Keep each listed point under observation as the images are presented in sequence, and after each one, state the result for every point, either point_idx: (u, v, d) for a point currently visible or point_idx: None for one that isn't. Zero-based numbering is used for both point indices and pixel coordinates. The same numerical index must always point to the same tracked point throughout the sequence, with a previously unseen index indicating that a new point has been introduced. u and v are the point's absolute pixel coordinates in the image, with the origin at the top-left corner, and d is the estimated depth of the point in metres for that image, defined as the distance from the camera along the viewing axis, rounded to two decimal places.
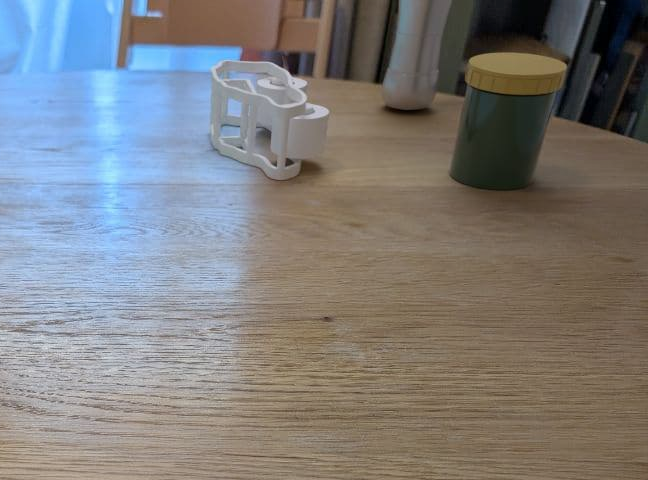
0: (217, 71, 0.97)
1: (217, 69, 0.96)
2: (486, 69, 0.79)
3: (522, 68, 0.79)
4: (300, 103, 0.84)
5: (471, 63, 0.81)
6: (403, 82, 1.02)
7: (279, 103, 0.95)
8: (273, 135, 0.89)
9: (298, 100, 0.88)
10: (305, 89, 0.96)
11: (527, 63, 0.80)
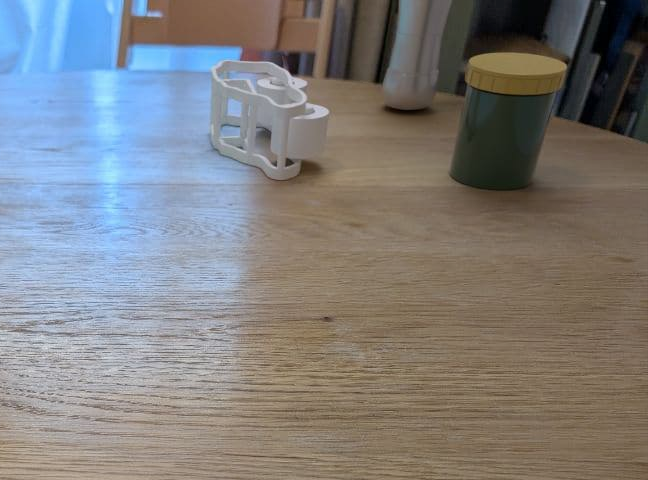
0: (217, 71, 0.97)
1: (217, 69, 0.96)
2: (486, 69, 0.79)
3: (522, 68, 0.79)
4: (300, 103, 0.84)
5: (471, 63, 0.81)
6: (403, 82, 1.02)
7: (279, 103, 0.95)
8: (273, 135, 0.89)
9: (298, 100, 0.88)
10: (305, 89, 0.96)
11: (527, 63, 0.80)
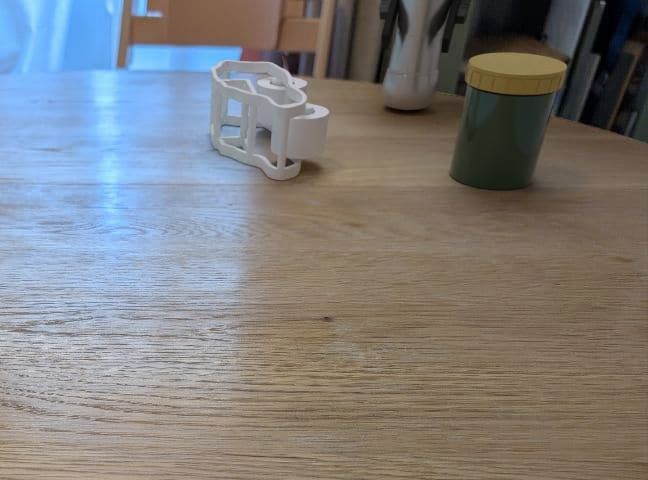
0: (217, 71, 0.97)
1: (217, 69, 0.96)
2: (486, 69, 0.79)
3: (522, 68, 0.79)
4: (300, 103, 0.84)
5: (471, 63, 0.81)
6: (403, 82, 1.02)
7: (279, 103, 0.95)
8: (273, 135, 0.89)
9: (298, 100, 0.88)
10: (305, 89, 0.96)
11: (527, 63, 0.80)
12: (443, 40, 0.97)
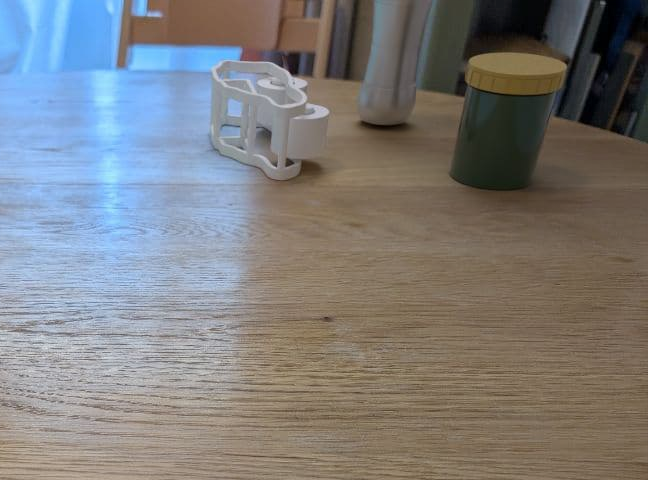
0: (217, 71, 0.97)
1: (217, 69, 0.96)
2: (486, 69, 0.79)
3: (522, 68, 0.79)
4: (300, 103, 0.84)
5: (471, 63, 0.81)
6: (379, 96, 0.98)
7: (279, 103, 0.95)
8: (273, 135, 0.89)
9: (298, 100, 0.88)
10: (305, 89, 0.96)
11: (527, 63, 0.80)
12: None
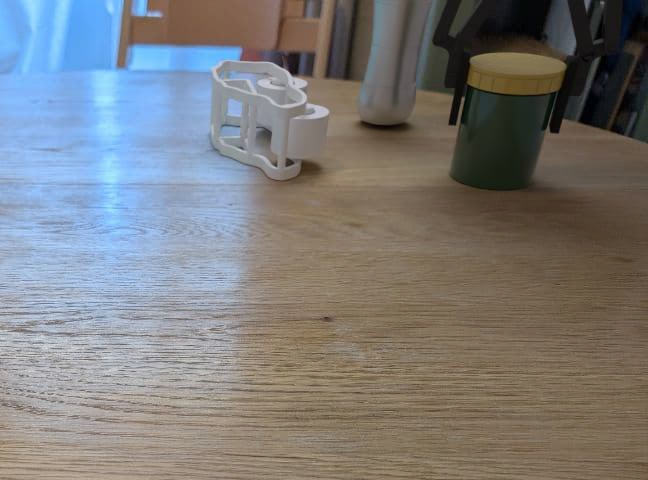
0: (217, 71, 0.97)
1: (217, 69, 0.96)
2: (486, 69, 0.79)
3: (522, 68, 0.79)
4: (300, 103, 0.84)
5: (471, 63, 0.81)
6: (379, 96, 0.98)
7: (279, 103, 0.95)
8: (273, 135, 0.89)
9: (298, 100, 0.88)
10: (305, 89, 0.96)
11: (527, 63, 0.80)
12: None
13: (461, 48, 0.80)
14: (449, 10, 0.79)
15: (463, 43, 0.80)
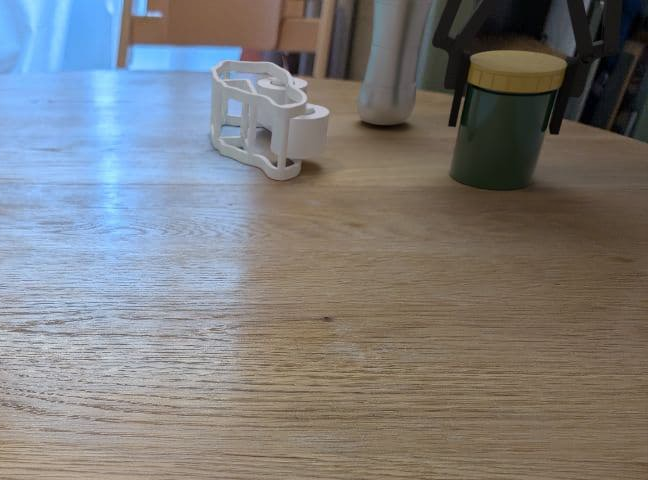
0: (217, 71, 0.97)
1: (217, 69, 0.96)
2: (542, 71, 0.77)
3: (541, 62, 0.80)
4: (300, 103, 0.84)
5: (515, 71, 0.77)
6: (379, 96, 0.98)
7: (279, 103, 0.95)
8: (273, 135, 0.89)
9: (298, 100, 0.88)
10: (305, 89, 0.96)
11: (519, 58, 0.81)
12: None
13: (461, 49, 0.80)
14: (449, 12, 0.79)
15: (463, 44, 0.80)
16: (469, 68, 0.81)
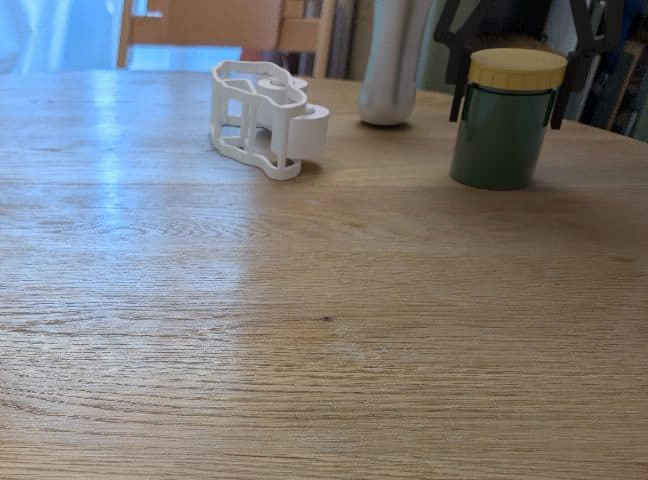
0: (217, 71, 0.97)
1: (217, 69, 0.96)
2: (564, 59, 0.80)
3: (527, 54, 0.81)
4: (300, 103, 0.84)
5: (564, 65, 0.78)
6: (379, 96, 0.98)
7: (279, 103, 0.95)
8: (273, 135, 0.89)
9: (298, 100, 0.88)
10: (305, 89, 0.96)
11: (509, 57, 0.81)
12: None
13: (462, 44, 0.80)
14: (450, 6, 0.79)
15: (464, 39, 0.80)
16: (514, 77, 0.77)
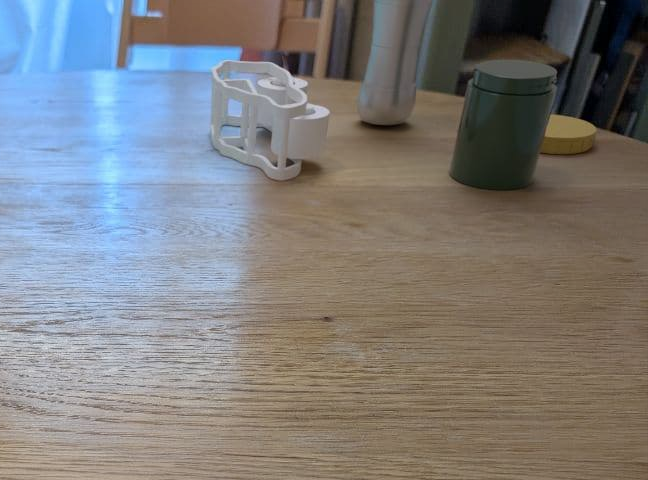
0: (217, 71, 0.97)
1: (217, 69, 0.96)
2: (592, 126, 0.93)
3: (561, 121, 0.95)
4: (301, 103, 0.84)
5: (593, 132, 0.91)
6: (379, 96, 0.98)
7: (279, 103, 0.95)
8: (273, 135, 0.89)
9: (299, 100, 0.88)
10: (306, 89, 0.96)
11: None
12: None
13: None
14: None
15: None
16: (551, 143, 0.91)
